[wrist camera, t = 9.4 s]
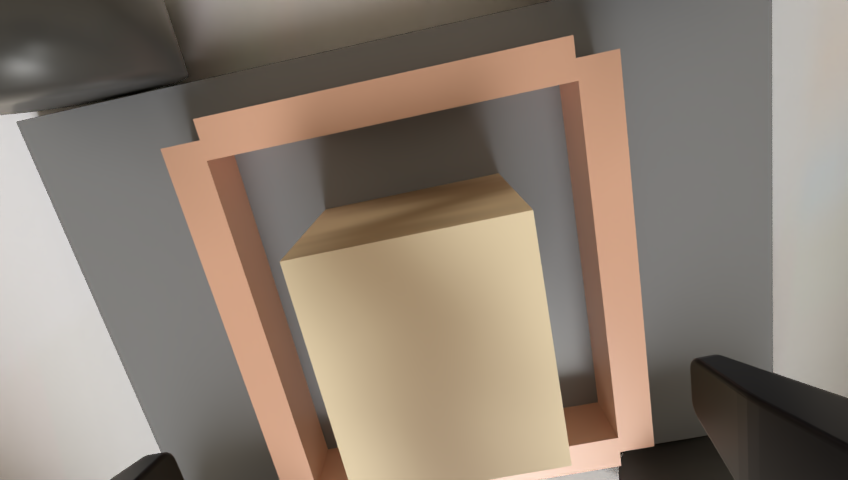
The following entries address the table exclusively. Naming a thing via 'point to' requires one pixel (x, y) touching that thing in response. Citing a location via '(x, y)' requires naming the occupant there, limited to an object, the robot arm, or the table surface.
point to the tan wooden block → (432, 334)
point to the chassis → (404, 172)
